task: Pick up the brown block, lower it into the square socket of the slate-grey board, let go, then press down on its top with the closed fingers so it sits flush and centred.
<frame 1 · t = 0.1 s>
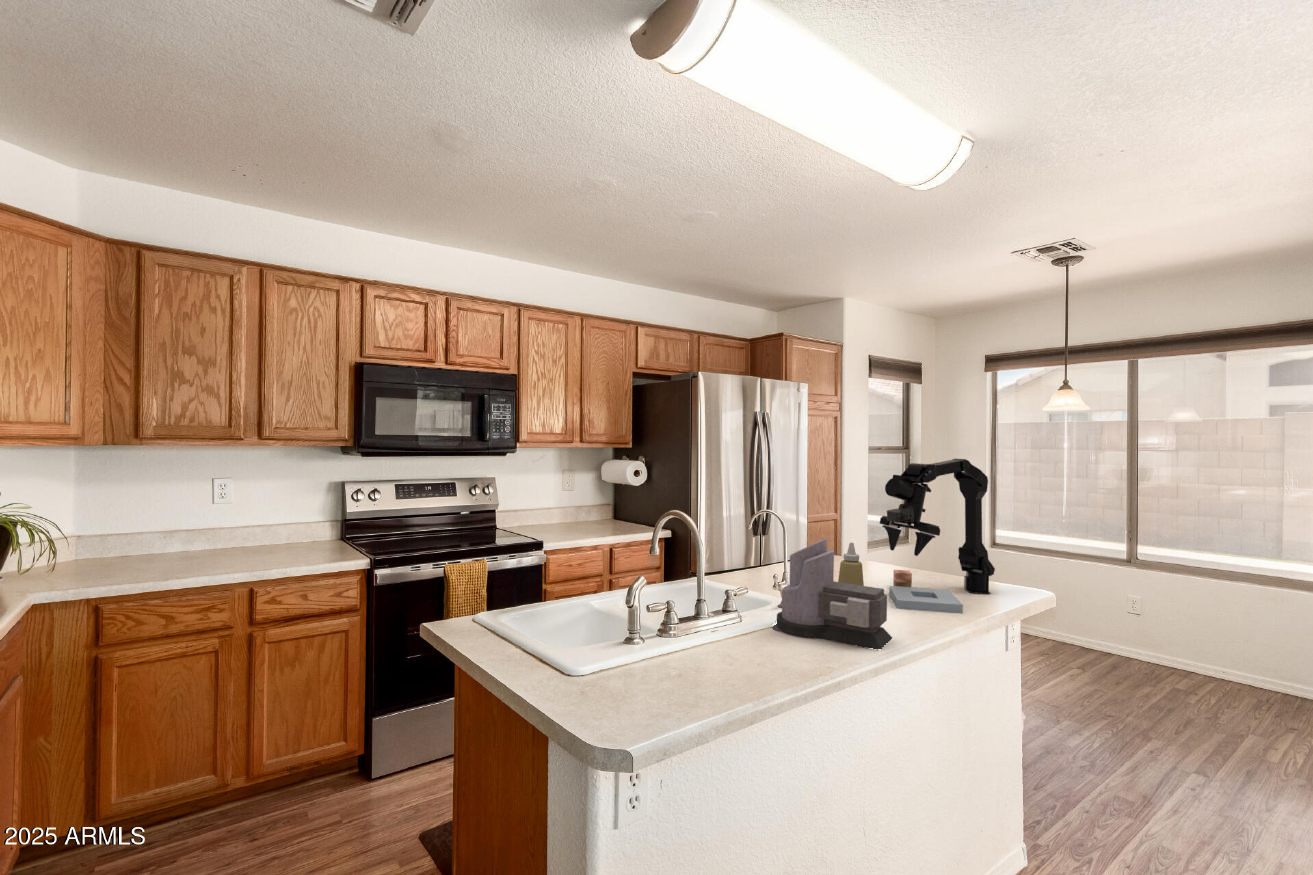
hand: (903, 552, 196), 15 cm above the worktop, tool pointing down, fingers open, 9 cm apart
brown block: (902, 589, 214), on the worktop
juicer: (827, 633, 167), on the worktop
squeeze bottle: (850, 601, 198), on the worktop
socket board: (923, 602, 197), on the worktop
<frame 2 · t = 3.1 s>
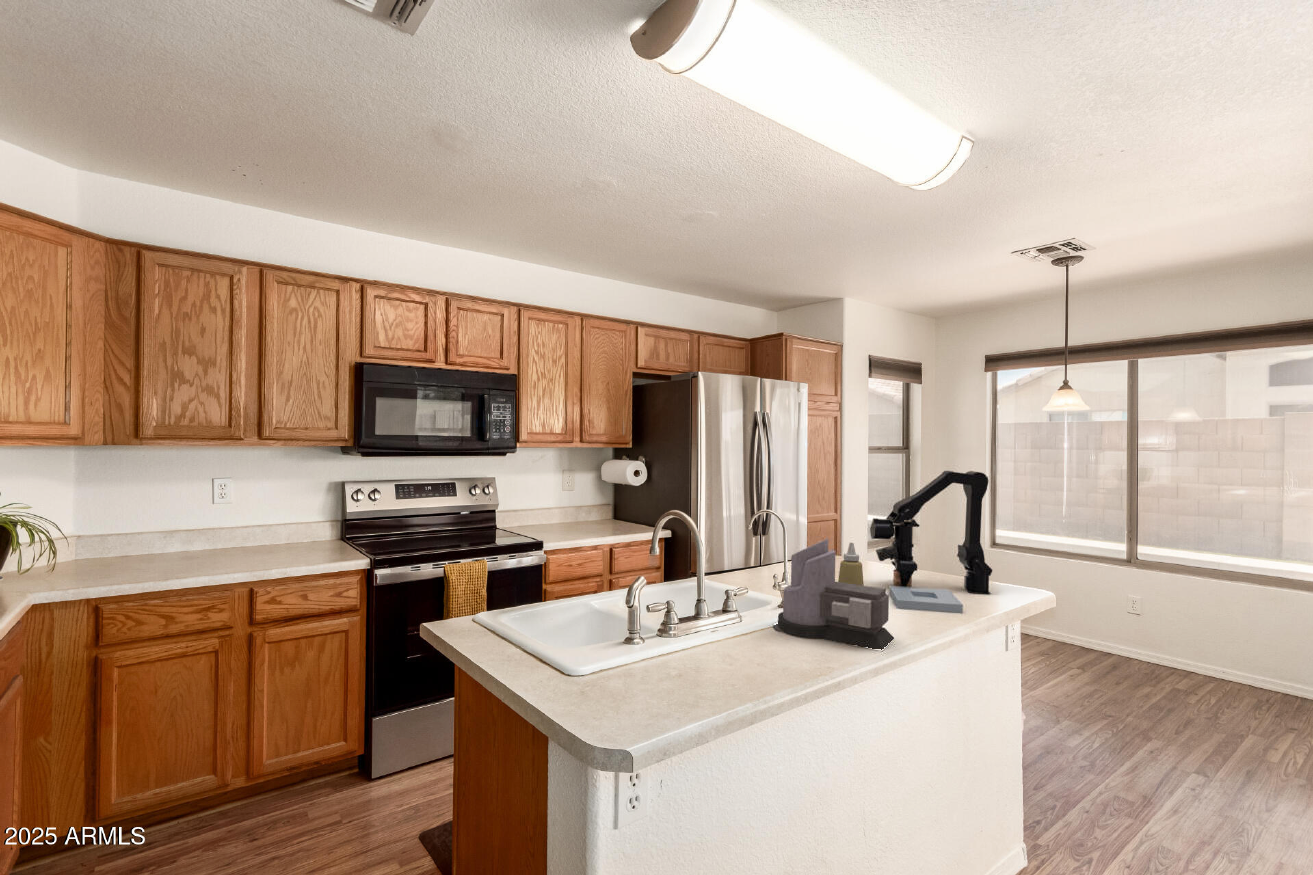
hand: (902, 586, 214), 1 cm above the worktop, tool pointing down, fingers closed on brown block, 5 cm apart
brown block: (902, 589, 214), on the worktop, touching gripper
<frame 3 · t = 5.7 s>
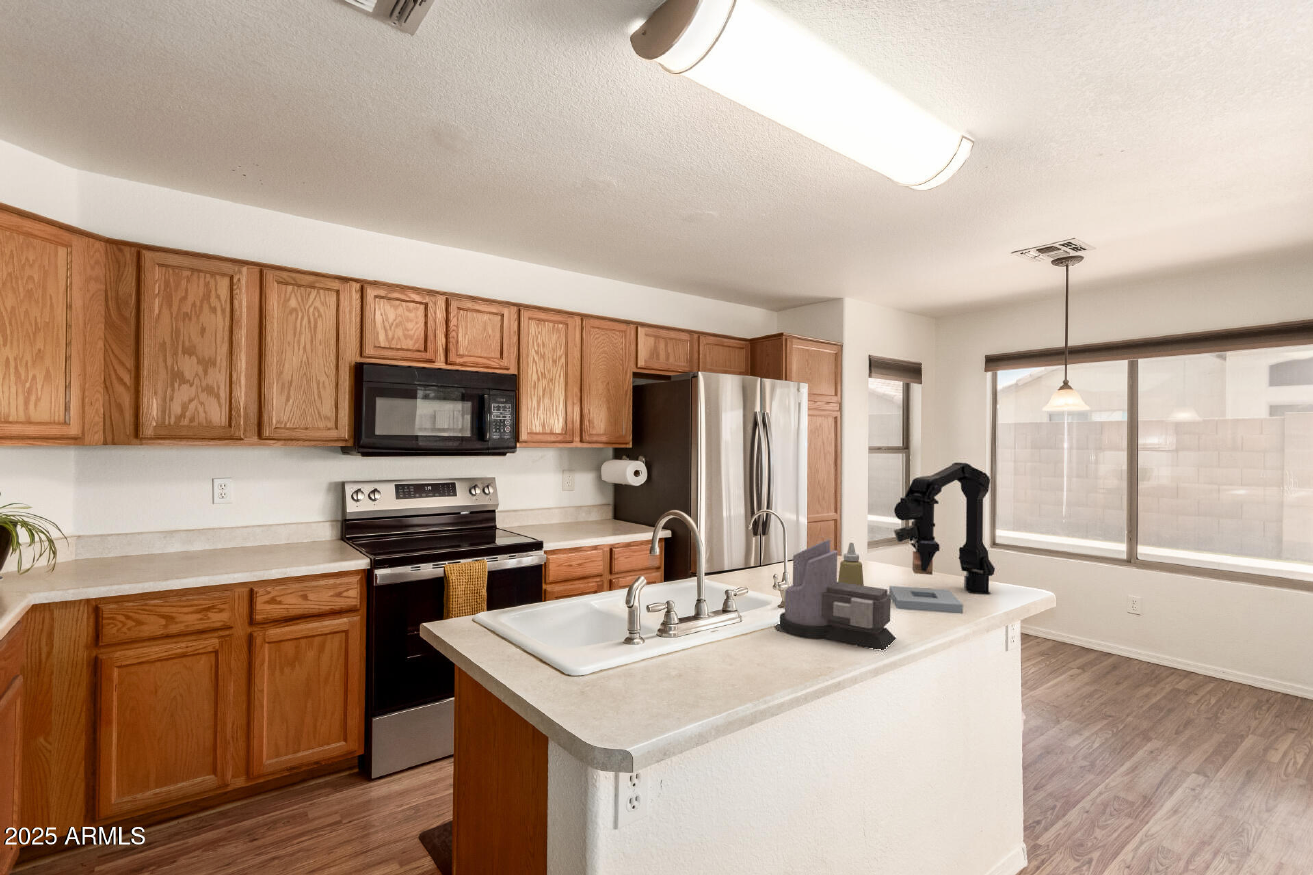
hand: (922, 569, 198), 10 cm above the worktop, tool pointing down, fingers closed on brown block, 5 cm apart
brown block: (922, 572, 198), point 9 cm above the worktop, touching gripper
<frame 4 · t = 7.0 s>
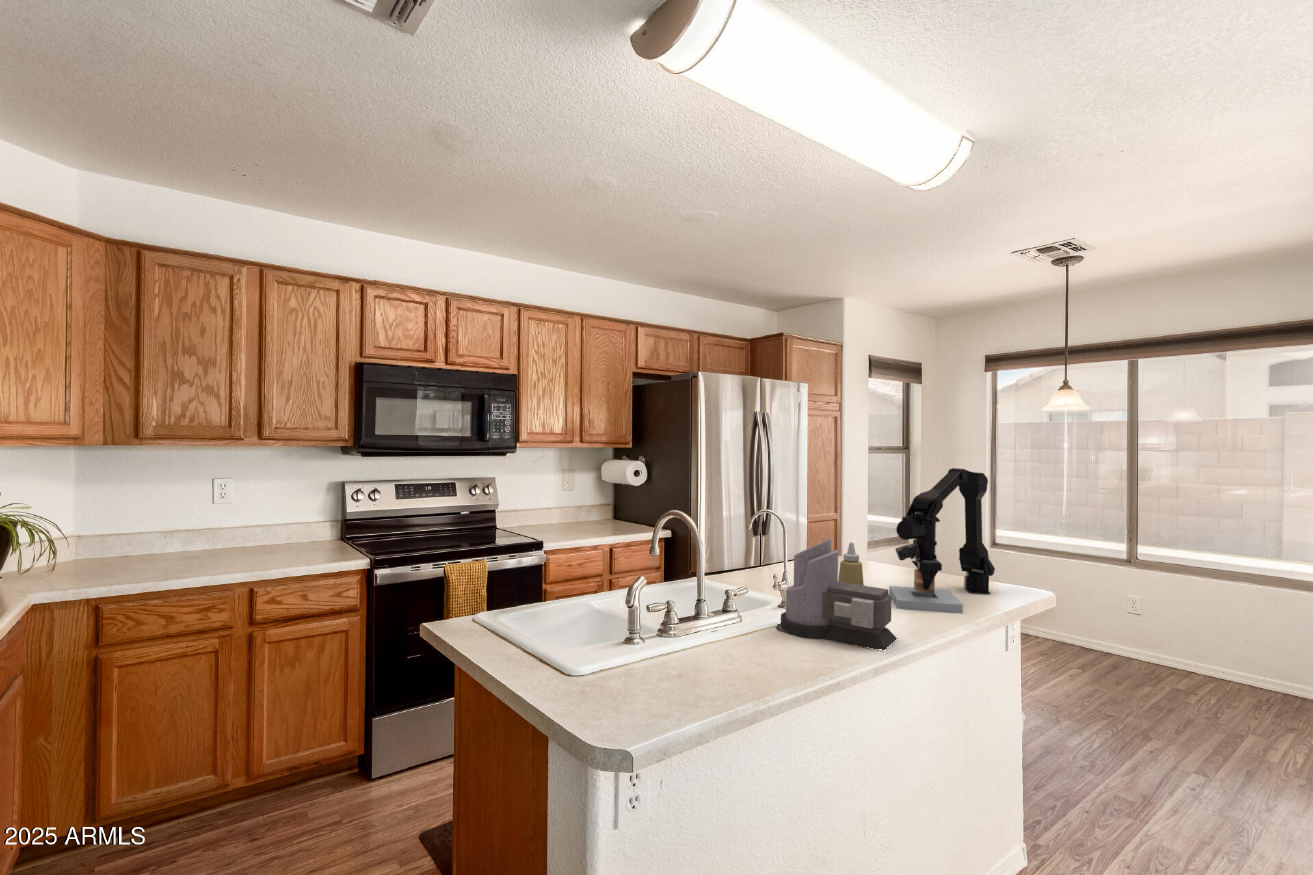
hand: (924, 587, 197), 5 cm above the worktop, tool pointing down, fingers closed on brown block, 5 cm apart
brown block: (924, 590, 197), point 4 cm above the worktop, touching gripper
when the fingers open (3 cm above the worktop, at t = 8.2 s): brown block stays where it is, resting on socket board.
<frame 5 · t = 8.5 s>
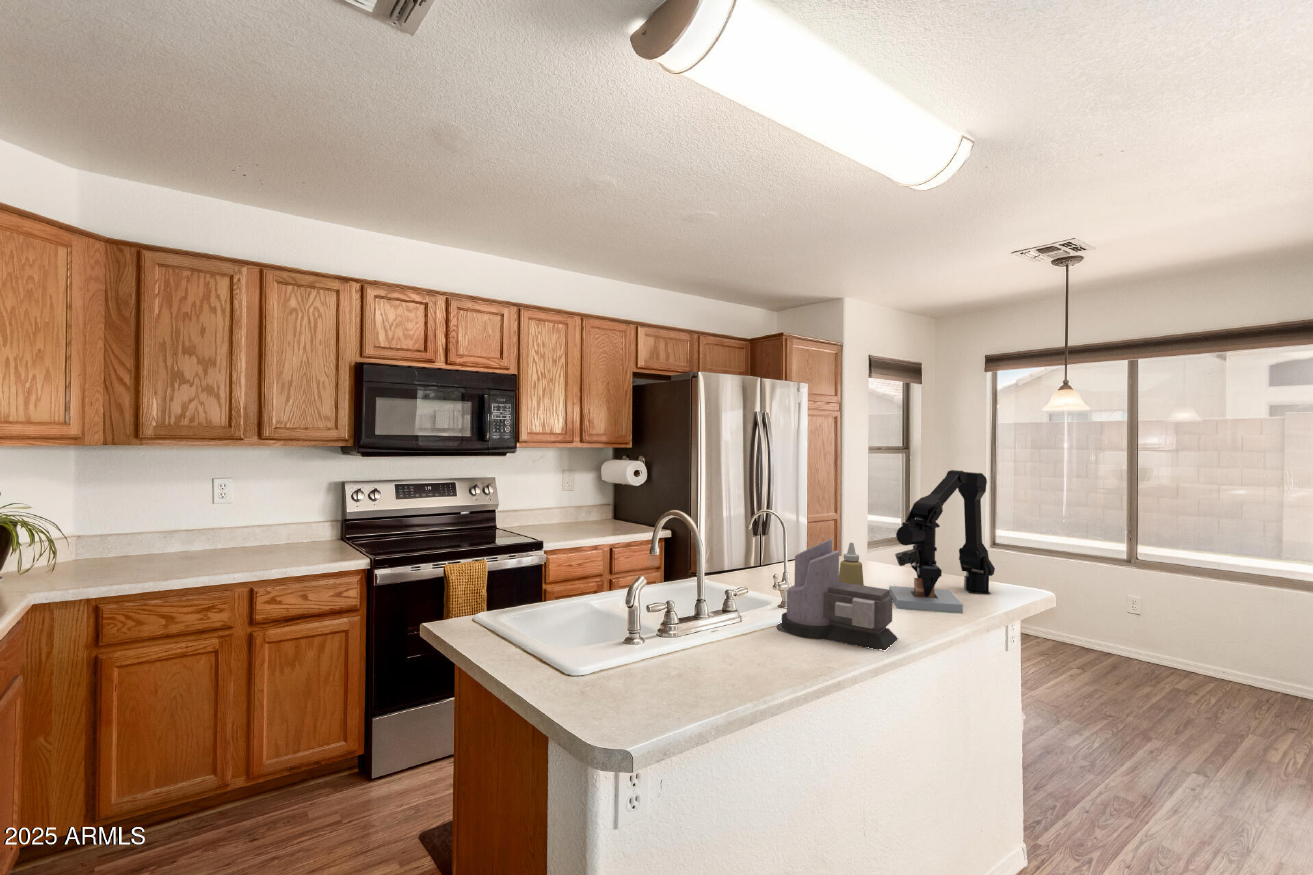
hand: (924, 593, 197), 3 cm above the worktop, tool pointing down, fingers open, 8 cm apart
brown block: (923, 599, 197), point 1 cm above the worktop, touching socket board
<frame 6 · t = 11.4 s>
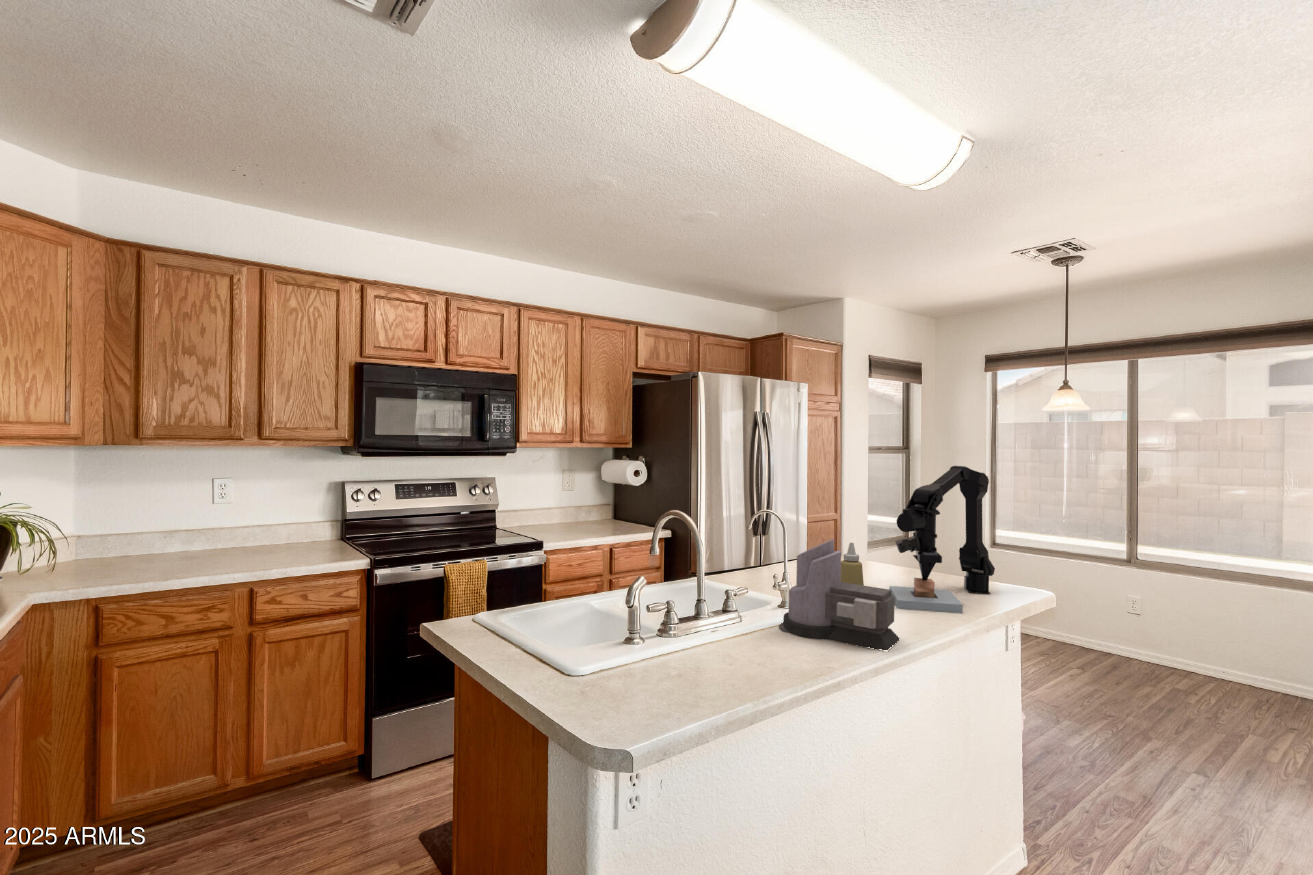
hand: (924, 580, 197), 7 cm above the worktop, tool pointing down, fingers closed, pressing on brown block
brown block: (923, 599, 197), point 1 cm above the worktop, touching gripper, socket board
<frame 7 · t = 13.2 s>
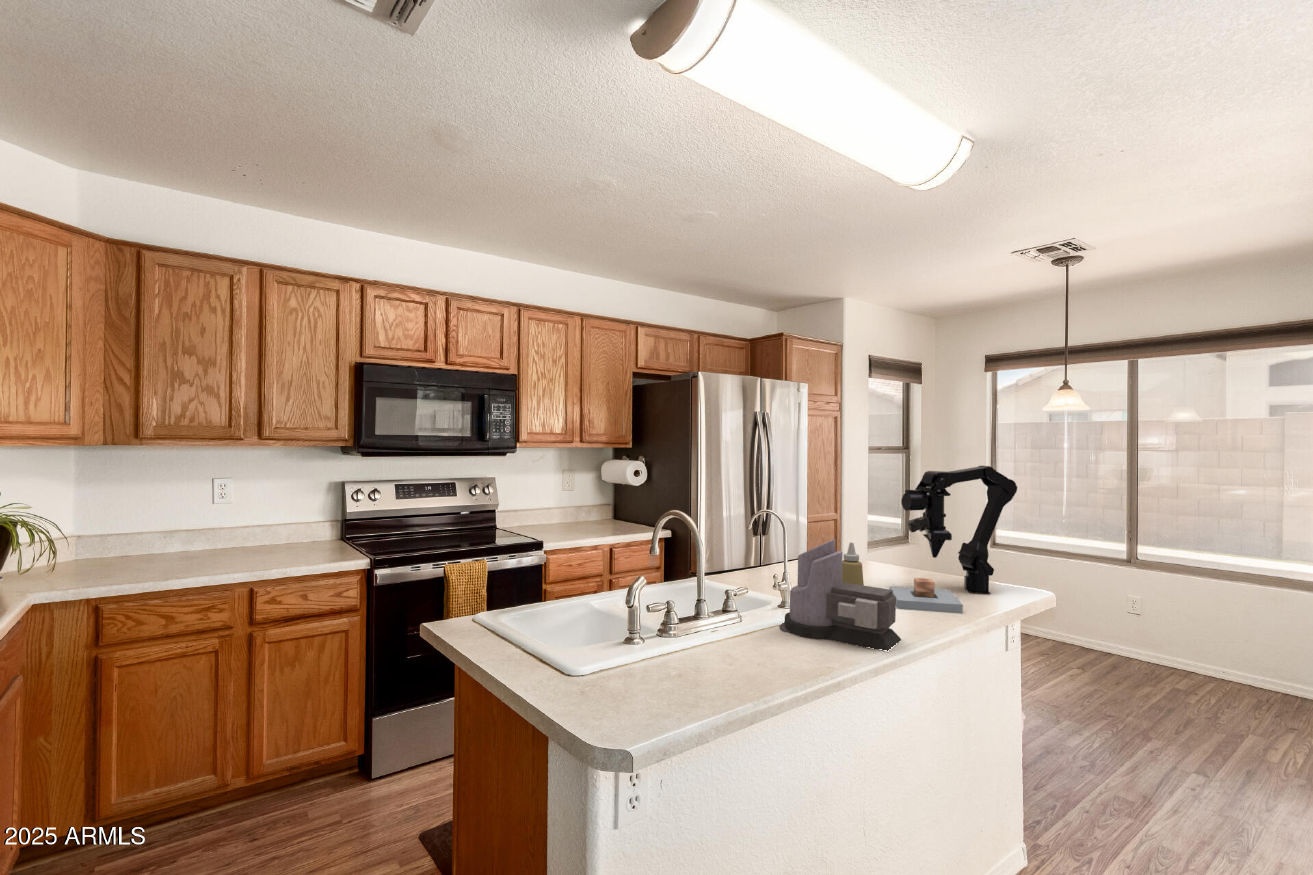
hand: (934, 557, 209), 12 cm above the worktop, tool pointing down, fingers closed
brown block: (923, 599, 197), point 1 cm above the worktop, touching socket board
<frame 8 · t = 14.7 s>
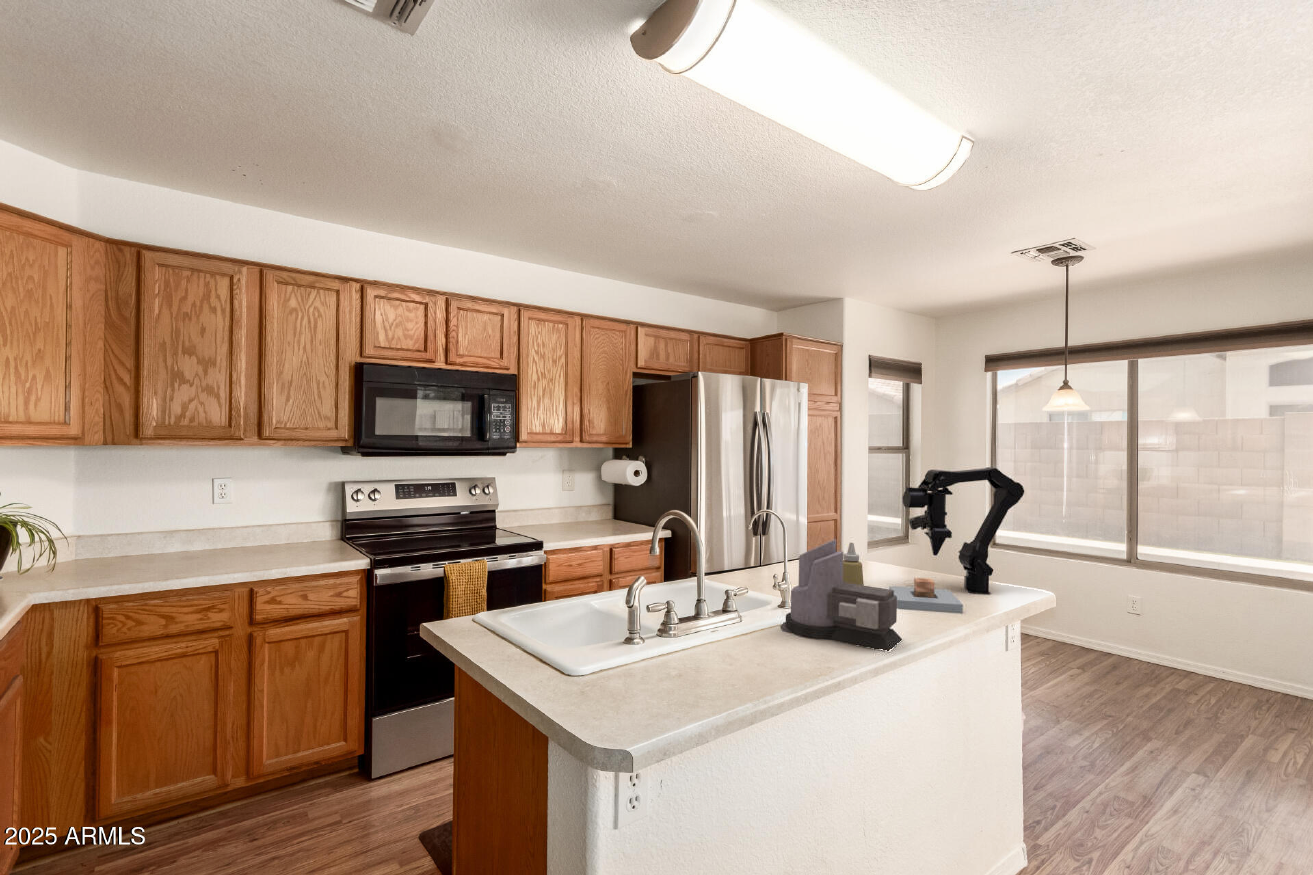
hand: (935, 555, 211), 12 cm above the worktop, tool pointing down, fingers closed
at the end: brown block 0.0 cm off-centre on the socket board, point 1.0 cm above the socket board's base; brown block tilted 0°; the gripper is holding nothing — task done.
